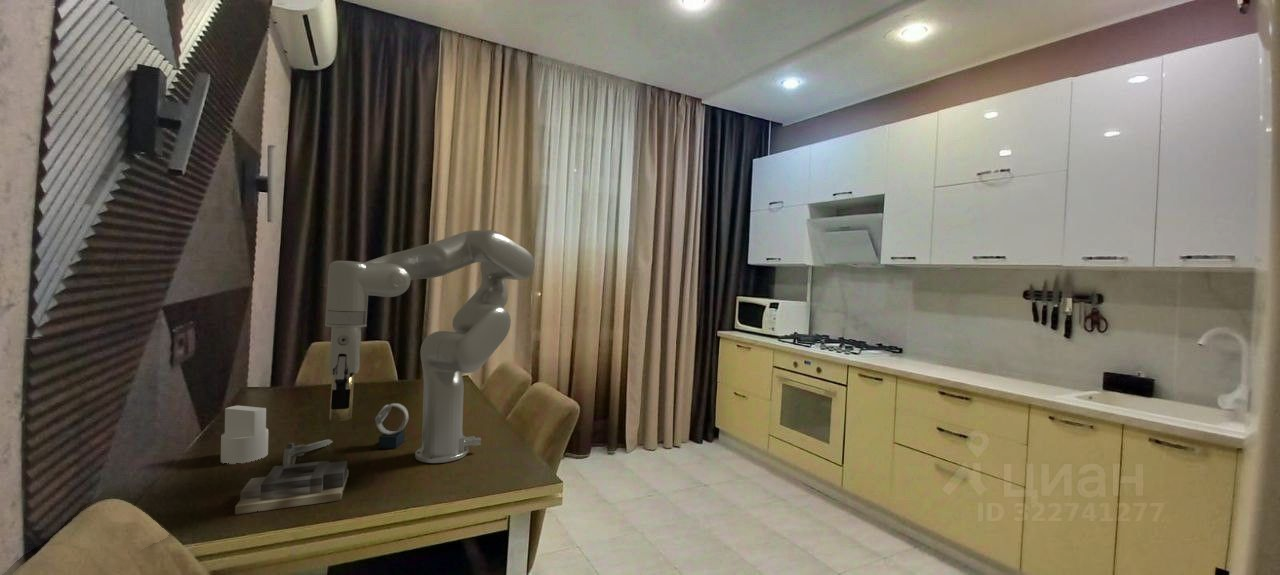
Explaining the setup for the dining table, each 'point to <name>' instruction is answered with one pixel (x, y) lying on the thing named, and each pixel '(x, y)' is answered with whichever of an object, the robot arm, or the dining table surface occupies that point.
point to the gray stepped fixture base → (294, 486)
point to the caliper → (301, 450)
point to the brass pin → (343, 413)
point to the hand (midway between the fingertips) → (341, 405)
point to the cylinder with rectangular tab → (244, 435)
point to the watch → (391, 436)
